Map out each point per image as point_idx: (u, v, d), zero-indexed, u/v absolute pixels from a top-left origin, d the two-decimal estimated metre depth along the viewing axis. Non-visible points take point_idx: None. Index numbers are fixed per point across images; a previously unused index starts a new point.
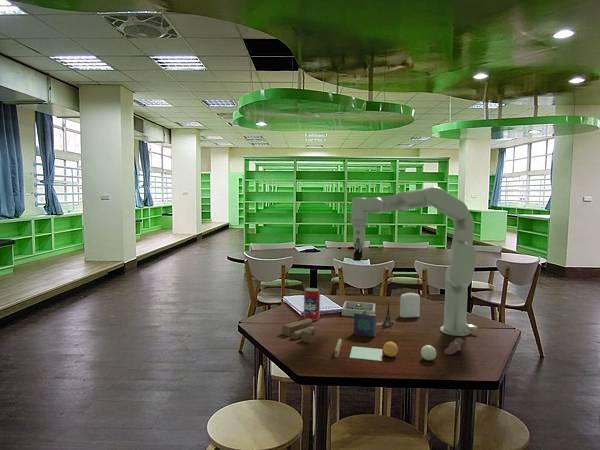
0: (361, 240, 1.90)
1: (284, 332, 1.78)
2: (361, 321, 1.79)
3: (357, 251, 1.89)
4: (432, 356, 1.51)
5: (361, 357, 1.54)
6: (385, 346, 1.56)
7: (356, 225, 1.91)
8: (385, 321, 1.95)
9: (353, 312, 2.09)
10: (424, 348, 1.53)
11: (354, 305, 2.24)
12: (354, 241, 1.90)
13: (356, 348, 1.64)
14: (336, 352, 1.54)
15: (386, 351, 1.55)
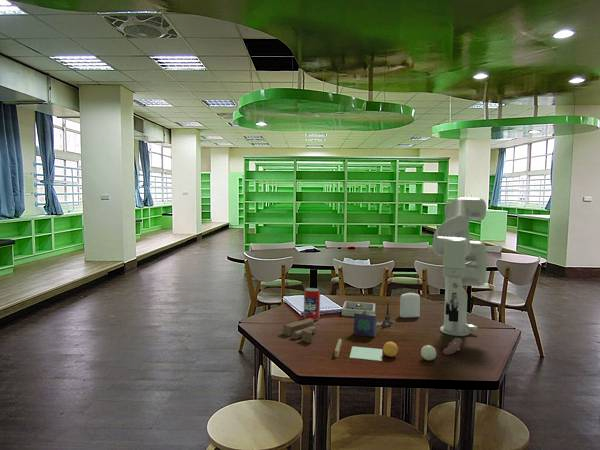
0: (459, 295, 1.47)
1: (285, 332, 1.79)
2: (361, 321, 1.79)
3: (454, 309, 1.46)
4: (432, 356, 1.51)
5: (361, 357, 1.54)
6: (385, 346, 1.56)
7: (452, 275, 1.48)
8: (384, 321, 1.95)
9: (353, 312, 2.09)
10: (424, 348, 1.53)
11: (354, 305, 2.24)
12: (449, 296, 1.48)
13: (356, 348, 1.64)
14: (336, 352, 1.54)
15: (386, 351, 1.55)
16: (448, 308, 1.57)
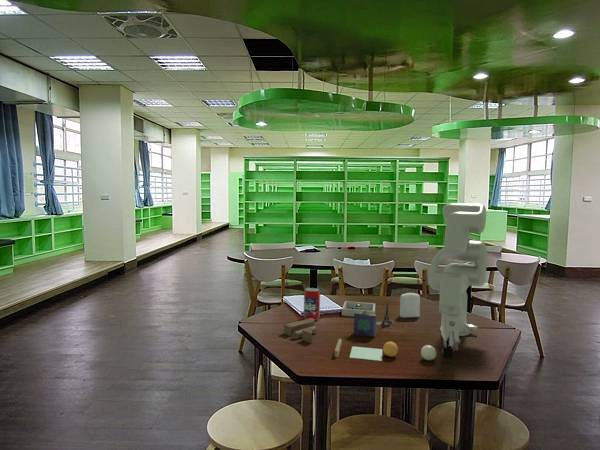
0: (456, 333, 1.46)
1: (285, 332, 1.79)
2: (361, 321, 1.79)
3: (449, 347, 1.50)
4: (432, 356, 1.51)
5: (361, 357, 1.54)
6: (385, 346, 1.56)
7: (448, 313, 1.48)
8: (384, 320, 1.96)
9: (353, 312, 2.09)
10: (424, 348, 1.53)
11: (354, 305, 2.24)
12: (446, 334, 1.47)
13: (356, 348, 1.64)
14: (336, 352, 1.54)
15: (386, 351, 1.55)
16: None
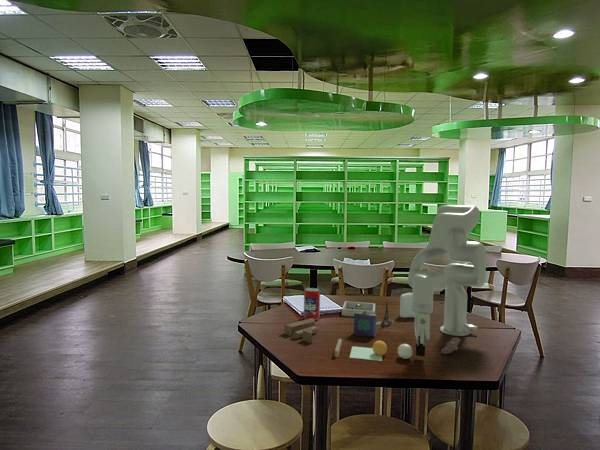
0: (427, 331, 1.49)
1: (286, 332, 1.79)
2: (361, 321, 1.79)
3: (421, 345, 1.52)
4: (403, 352, 1.52)
5: (361, 357, 1.54)
6: (375, 353, 1.57)
7: (420, 311, 1.50)
8: (383, 320, 1.96)
9: (353, 312, 2.09)
10: (407, 358, 1.54)
11: (354, 305, 2.24)
12: (417, 332, 1.49)
13: (356, 348, 1.64)
14: (336, 352, 1.54)
15: (379, 353, 1.55)
16: None
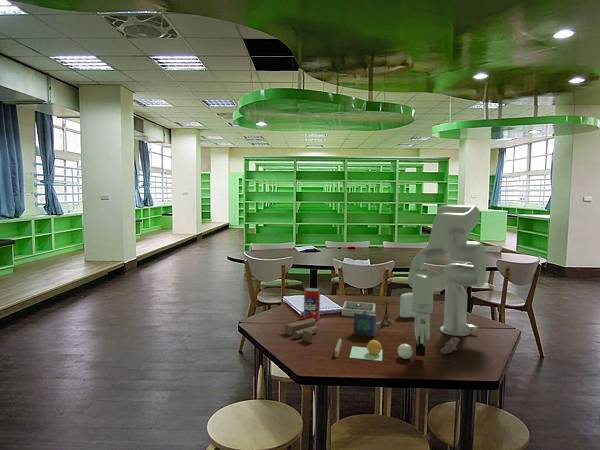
0: (427, 331, 1.49)
1: (286, 332, 1.79)
2: (361, 321, 1.79)
3: (421, 345, 1.52)
4: (403, 352, 1.52)
5: (361, 357, 1.54)
6: (374, 354, 1.57)
7: (420, 311, 1.50)
8: (383, 320, 1.96)
9: (353, 312, 2.09)
10: (407, 358, 1.54)
11: (354, 305, 2.24)
12: (417, 332, 1.49)
13: (356, 348, 1.64)
14: (336, 352, 1.54)
15: (376, 352, 1.56)
16: None
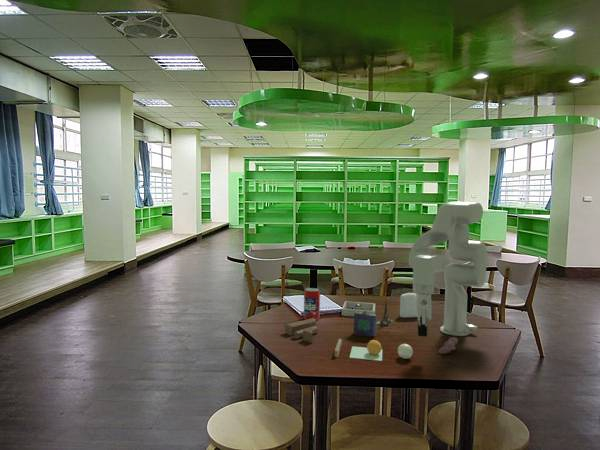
0: (428, 312, 1.49)
1: (287, 332, 1.80)
2: (361, 321, 1.79)
3: (423, 325, 1.53)
4: (403, 352, 1.52)
5: (361, 357, 1.54)
6: (374, 354, 1.57)
7: (421, 292, 1.50)
8: (382, 320, 1.96)
9: (353, 312, 2.09)
10: (407, 358, 1.54)
11: (354, 305, 2.24)
12: (419, 313, 1.50)
13: (356, 348, 1.64)
14: (336, 352, 1.54)
15: (376, 352, 1.56)
16: None
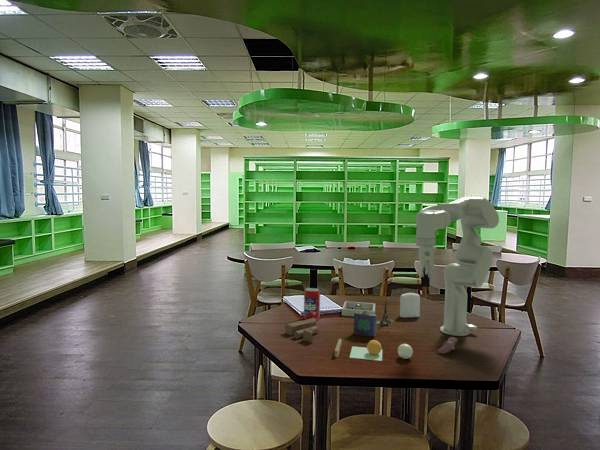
0: (431, 262, 1.62)
1: (287, 332, 1.80)
2: (361, 321, 1.79)
3: (426, 276, 1.66)
4: (403, 352, 1.52)
5: (361, 357, 1.54)
6: (374, 354, 1.57)
7: (424, 245, 1.63)
8: (382, 320, 1.97)
9: (353, 312, 2.09)
10: (407, 358, 1.54)
11: (354, 305, 2.24)
12: (422, 263, 1.63)
13: (356, 348, 1.64)
14: (336, 352, 1.54)
15: (376, 352, 1.56)
16: None
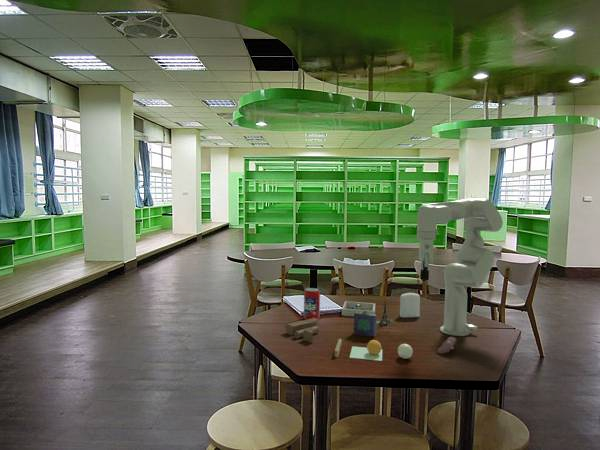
0: (430, 255, 1.64)
1: (287, 332, 1.80)
2: (361, 321, 1.79)
3: (425, 269, 1.68)
4: (403, 352, 1.52)
5: (361, 357, 1.54)
6: (374, 354, 1.57)
7: (424, 238, 1.66)
8: (382, 319, 1.97)
9: (353, 312, 2.09)
10: (407, 358, 1.54)
11: (354, 305, 2.24)
12: (422, 256, 1.65)
13: (356, 348, 1.64)
14: (336, 352, 1.54)
15: (376, 352, 1.56)
16: None
